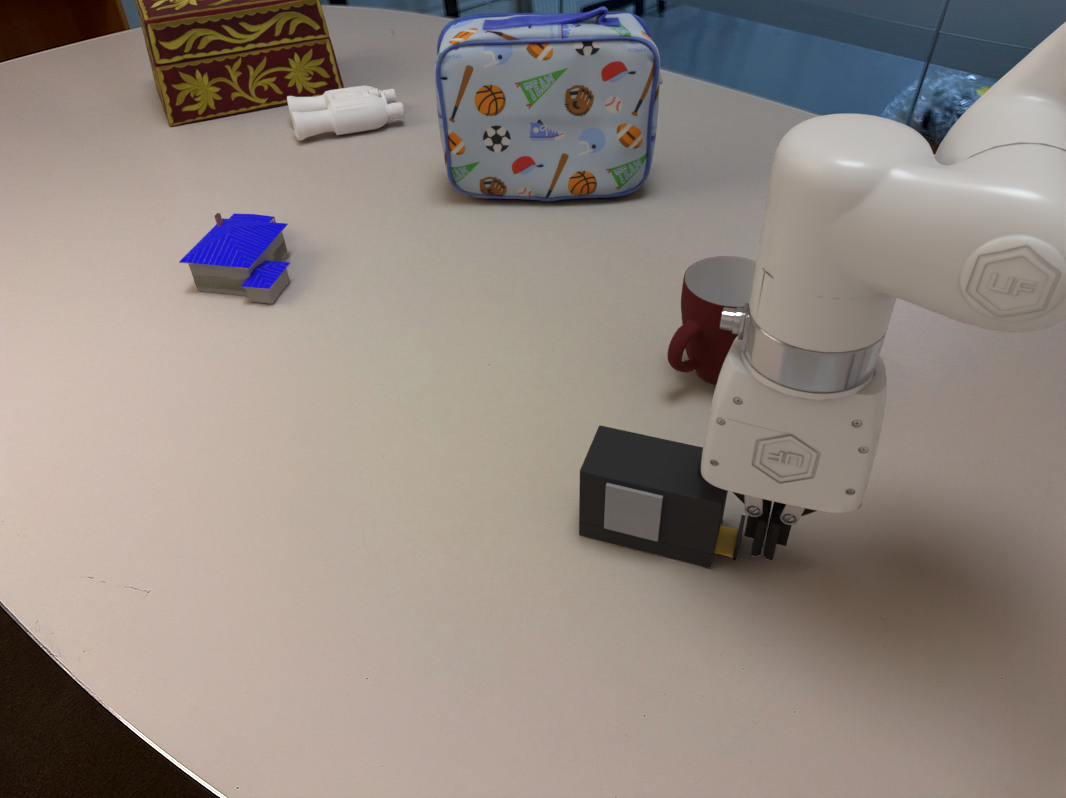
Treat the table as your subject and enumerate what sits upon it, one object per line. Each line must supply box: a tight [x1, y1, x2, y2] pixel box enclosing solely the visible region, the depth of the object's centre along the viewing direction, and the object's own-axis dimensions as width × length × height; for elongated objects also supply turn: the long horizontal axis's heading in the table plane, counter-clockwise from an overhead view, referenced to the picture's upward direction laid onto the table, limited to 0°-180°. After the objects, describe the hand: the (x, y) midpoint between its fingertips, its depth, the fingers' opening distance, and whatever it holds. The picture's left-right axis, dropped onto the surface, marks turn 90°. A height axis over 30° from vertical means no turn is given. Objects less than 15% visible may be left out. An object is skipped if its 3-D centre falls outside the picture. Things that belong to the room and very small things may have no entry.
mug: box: [667, 255, 757, 385], centre depth 71 cm, size 10×8×10 cm
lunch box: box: [434, 5, 664, 202], centre depth 97 cm, size 28×10×22 cm, turn 92°
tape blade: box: [714, 514, 747, 562], centre depth 60 cm, size 10×3×2 cm, turn 70°
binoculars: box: [287, 85, 405, 142], centre depth 120 cm, size 10×16×5 cm, turn 109°
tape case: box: [578, 425, 729, 569], centre depth 59 cm, size 10×6×7 cm, turn 70°
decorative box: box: [134, 0, 345, 127], centre depth 129 cm, size 28×19×15 cm
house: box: [178, 212, 291, 305], centre depth 90 cm, size 11×14×6 cm
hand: (763, 543), depth 59 cm, fingers closed
